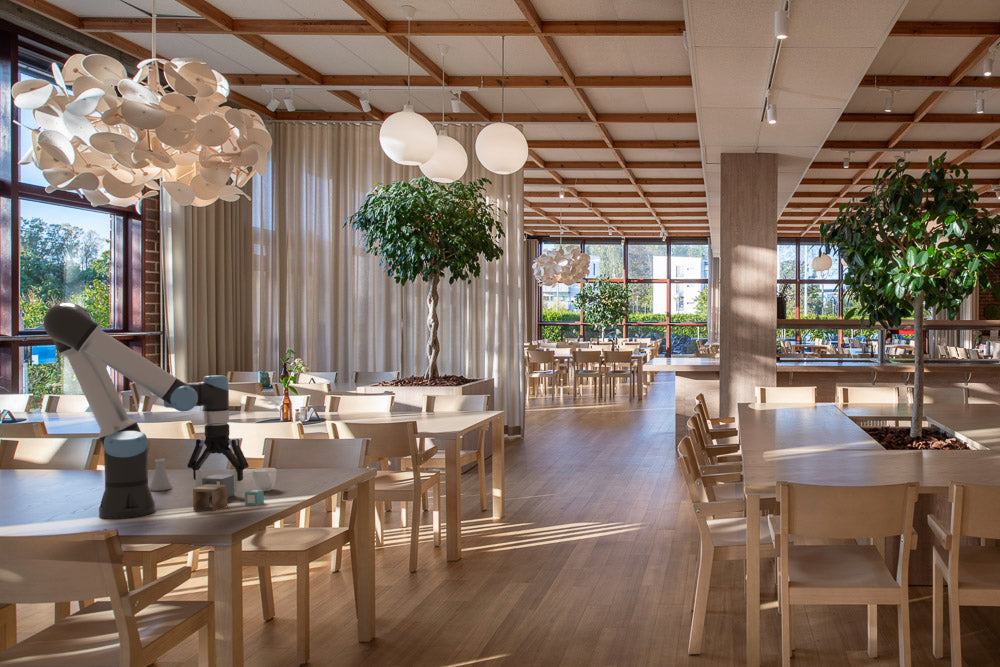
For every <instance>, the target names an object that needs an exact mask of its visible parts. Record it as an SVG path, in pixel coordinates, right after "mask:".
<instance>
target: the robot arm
mask: <svg viewBox="0 0 1000 667" xmlns="http://www.w3.org/2000/svg"><path fill="white" fill-rule="evenodd" d="M43 327H44V330H45V332H46V334H47V335H48V337H50V338H51V339H52V341H53V343H54V345H55V347H56V350H57V351H58V354H59V355H61V356H64V357H66V358H67V360H68V362H69V363H70V367H71V368H72V370H73V373H74V375H75V377H76V380H77V382H78V384H79V386H80V388H81V390H82V392H83V395H84V397H85V399H86V402H87V403H88V405H89V407H90V410H91V412H92V415H93V416H94V418H95V421H96V423H97V425H98V427H99V429H100V431H99V434H98V436H97V438H98V441H99V442H100V445H101V446H102V449H103V453H104V455H103V456H104V491H103V494H102V498H101V501H100V504H99V507H98V517H99V518H102V519H110V520H113V519H116V520H117V519H130V518H138V517H142V516H147V515H150V514H152V513H154V512H155V511H156V502H155V501H154V499H153V498H154V497H153V494H152V492H151V491H152V490H150V489H149V488H150V485H149V464H148V462H149V461H148V460H149V459H148V456H149V451H150V450H149V442H148V437H147V435H146V434H145V433H144V432H143V431H142V430H141V428H140V426H139V424H138V422H137V421H136V420H135V419H134V418H133V419H132V418H130V417H129V415H128V413H127V410H126V409H125V406H124V404H123V401H122V400H121V397H120V396H119V393H118V391H117V389H116V387H115V385H114V381H113V380H112V377H111V375H110V374H109V371H108V369H107V367H109V368H111V369H113V370H114V371H115V372H117V373H119V374H120V375H122V376H123V377H125V378H127V379H128V380H130V381H131V382H134V383H135V384H136V385H138V386H140V387H141V388H143V389H145V390H146V391H148V392H149V393H151V394H153V395H154V396H156V397H158V398H159V399H160V400H163V406H164V407H165V408H167V409H168V408H171V409H175V410H177V411H178V412H188V411H190V410H193V409H194V408H195V407H203V415H204V416H203V421H204V422H203V423H204V424H205V426H204V437H205V439H204V438H197V439H195V440H196V441H195V447H194V449H193V451H192V453H191V456H190V459H189V461H188V463H187V468H188V469H192V470H193V472H192V474H193V480H195V488H197V487H200V486H202V478H203V469H202V468H201V467H202V466H203V464H204V463H205V462H206V460H207V459H208V458H209V456H210V455H211V454H222V455H223V456H225V458H226V459H227V460H228V461H229V463H230V464H231V465H232V466H233V467H234V469H235V470H234V471H233V475H234V493H237V492H240V491H242V481H243V480H244V470H245V469H248V468H249V462H248V461H247V458H246V457H245V455H244V453H243V451H242V448H241V446H240V440H239V438H234V439H230V434H231V433H230V424H229V423H230V410H229V409H230V408H229V407H230V405H229V404H230V401H229V400H230V399H229V398H230V396H229V395H230V394H229V392H230V391H229V390H230V389H229V378H228V376H226V375H222V374H219V375H218V374H215V375H213V374H212V375H205V376H203V380H202V381H200V382H199V381H198V382H183V381H182V380H180V379H179V378H177V377H176V376H174V375H172V374H171V373H170V372H167V371H166V370H165V369H163V368H161V367H160V366H159V365H157V364H155V363H154V362H152V361H151V360H149V359H148V358H145V357H144V356H143V355H142V354H139V353H138V352H136V351H135V350H133V349H132V348H131V347H128V346H127V345H125V344H124V343H122V342H121V341H120V340H117V339H116V338H114V337H112V336H111V335H110V334H108V333H107V332H105V331H103V330H102V328H101V324H100V323H97V322H96V321H94V319H92V317H91V315H90V313H89V312H88V311H87V310H86V309H85V307H83V306H81V305H78V304H75V303H70V302H69V303H68V302H63V303H62V302H61V303H57V304H55V305H54V306H51V307H50V308H49V309H48V310H47V311H46V313H45V315H44V318H43ZM204 445H205V447H206V448H205V449H204V450H203V452H202V449H203V447H204ZM230 447H231V448H232V449H231V448H230ZM201 452H202V454H201ZM200 455H201V456H200Z"/></svg>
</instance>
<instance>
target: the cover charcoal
mask: <svg viewBox="0 0 1000 667" xmlns="http://www.w3.org/2000/svg"><path fill="white" fill-rule="evenodd" d="M218 482H219V485H227V497H228V498H231V497H233V495H234V496H235V492H234V474H212V475H208V476H206V477H202V486H203V485H206V484H211V485H218ZM211 496H212V492H209V498H212V497H211ZM230 496H231V497H230Z"/></svg>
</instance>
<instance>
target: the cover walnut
mask: <svg viewBox="0 0 1000 667" xmlns="http://www.w3.org/2000/svg"><path fill="white" fill-rule="evenodd" d="M209 492H212V497H211V505H212V506H211V509H212V512H217V511H219V510H218V509H220V510H221V508H222V509H224V507H225V508H226V506H227V507H228V498H227V485H220V484H217V485H211V484H206V485H203V486H200V487H197V488H196V487H194V488H193V489H192V498H193V500H192V502H193V507H192V508H193V511H194V510H197V511H199V510H201V508H202V509H204V507H205V508H207V507H209V506H210V497H209ZM206 506H207V507H206ZM198 509H199V510H198ZM216 510H217V511H216Z"/></svg>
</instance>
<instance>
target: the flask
mask: <svg viewBox="0 0 1000 667" xmlns="http://www.w3.org/2000/svg"><path fill="white" fill-rule="evenodd" d="M154 462H155V469H154V474H153V476H152V478H151V479H152V480H151V483H150V485H149V489H150V491H153V492H159V491H160V492H162V491H167V490H172V489H173V485H172V483H171V480H170V479H169V475H168V473H167V470H166V466H165V462H166V459H165V458H159V459H155V460H154Z"/></svg>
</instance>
